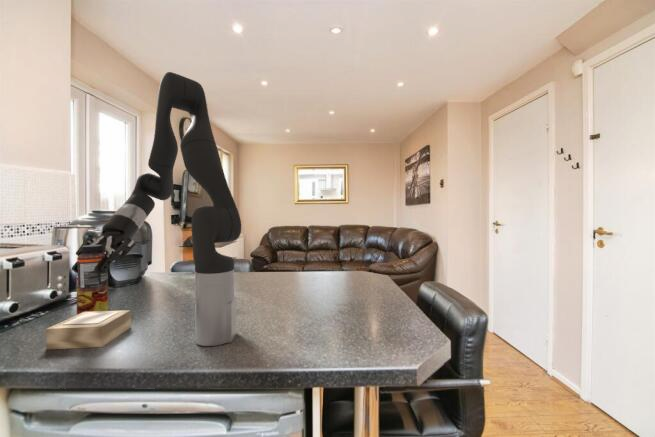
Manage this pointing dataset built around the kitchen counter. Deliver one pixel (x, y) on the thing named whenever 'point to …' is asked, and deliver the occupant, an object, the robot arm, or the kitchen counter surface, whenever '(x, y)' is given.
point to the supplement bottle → (91, 269)
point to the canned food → (92, 300)
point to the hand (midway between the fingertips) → (86, 271)
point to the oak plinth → (88, 329)
